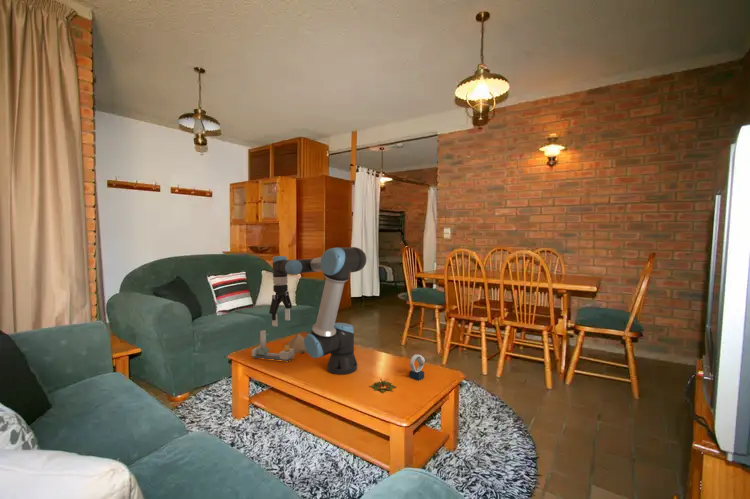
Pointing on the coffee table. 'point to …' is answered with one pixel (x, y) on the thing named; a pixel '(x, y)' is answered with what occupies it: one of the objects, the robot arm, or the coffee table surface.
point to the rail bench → (274, 355)
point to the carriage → (263, 343)
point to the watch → (417, 373)
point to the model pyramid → (297, 344)
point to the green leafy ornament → (383, 383)
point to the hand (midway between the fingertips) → (281, 323)
